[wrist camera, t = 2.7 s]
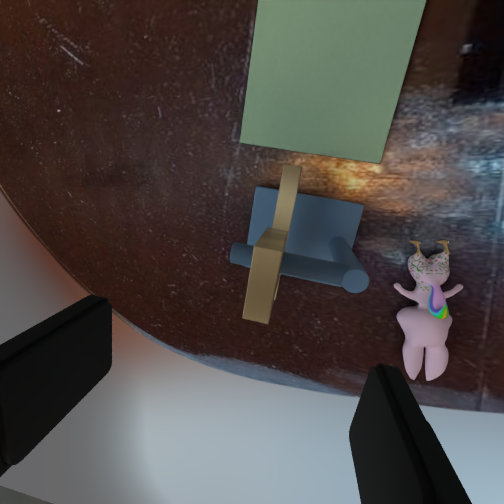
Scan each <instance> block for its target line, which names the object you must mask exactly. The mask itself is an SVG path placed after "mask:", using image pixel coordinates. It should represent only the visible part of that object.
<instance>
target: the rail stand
mask: <svg viewBox="0 0 504 504" xmlns="http://www.w3.org/2000/svg"><path fill="white" fill-rule="evenodd" d="M278 194H279V189H273V188H268V187H262V186H256V190H255V196H254V203H253V209H252V215H251V222H250V228H249V235H248V241H247V244H243V243H238V242H234V244H233V246H232V249H231V253H230V262H231V263H235V264H240V265H244V266H245V267H250V268H251V261H252V255H253V249H254V246H255V244H256V243H257V241H258V240H259V238H260V237H261V236H262V234H263V233H264V231H265V230H266V229H267V227H269V228H272V227H273V221H274V216H275V210H276V205H277V199H278ZM363 208H364V205H363V204H361V203H355V202H349V201H343V200H338V199H332V198H326V197H320V196H314V195H308V194H303V193H297V195H296V200H295V205H294V210H293V215H292V220H291V225H290V230H289V235H288V240H287V245H286V250H285V252H284V253H283V258H282V263H281V268H280V273H281V274H282V275H287V276H292V277H296V278H301V279H306V280H311V281H315V282H320V283H325V284H329V285H334V286H339V287H342V286H343V287H344V289H345V290H347V291H348V292H351V293H359V292H362V291H364V290H365V289H366V288H367V286H368V284H369V277H368V275H367V273H366V272H365V270H364V269H363V267H362V265H361V264H360V262H359V261H358V259H357V258H356V256H355V255H354V253H353V251H352V248H353V244H354V240H355V237H356V233H357V230H358V226H359V223H360V219H361V216H362V212H363Z"/></svg>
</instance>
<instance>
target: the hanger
mask: <svg viewBox="0 0 504 504" xmlns="http://www.w3.org/2000/svg"><path fill="white" fill-rule="evenodd" d="M301 170H302V167H300V166H294V165H287V164H284V166H283V172H282V177H281V183H280V188H279V194H278V199H277V205H276V210H275V216H274V221H273V227H272V228H269V227H267V229H266V230H265V231H264V233H263V234H262V236H261V237H260V238H259V240H258V241H257V243H256V244H255V246H254V249H253V255H252V261H251V268H250V274H249V280H248V286H247V292H246V298H245V304H244V310H243V316H242V317H243V318H244V319H248V320H253V321H257V322H261V323H265V324H268V323H269V319H270V315H271V310H272V306H273V302H274V299H275V298H276V294H277V289H278V284H279V279H280V274H281V273H280V268H281V263H282V258H283V253H284V252H285V250H286V245H287V240H288V235H289V230H290V225H291V220H292V215H293V210H294V205H295V200H296V195H297V190H298V185H299V180H300V175H301Z"/></svg>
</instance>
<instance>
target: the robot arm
mask: <svg viewBox="0 0 504 504" xmlns="http://www.w3.org/2000/svg"><path fill="white" fill-rule="evenodd" d="M111 365H112V305H111V304H110V303H109V301H108V299H106V298H103V297H99V296H95V295H89V296H87V297H85V298H83V299H81V300H80V301H78V302H76V303H74V304H72V305H71V306H69V307H67V308H65V309H64V310H62V311H60V312H58V313H56V314H55V315H53V316H51V317H49V318H48V319H46V320H44V321H43V322H40V323H39V324H37V325H35V326H33V327H31V328H30V329H28V330H26V331H25V332H22V333H21V334H19V335H17V336H15V337H14V338H12V339H10V340H8V341H6V342H5V343H3V344H1V345H0V477H1V476H2V475H3V474H4V473H5V472H6V471H7V470H8V469H9V468H10V467H11V466H12V465H16V464H18V463H19V462H20V461H22V460H23V459H24V458H25V456H27V455H28V454H29V453H30V452H31V451H32V449H34V448H35V446H36V445H38V443H39V442H40V441H41V440H42V439H43V438H44V437H45V436H46V435H47V434H48V433H49V432H50V431H51V430H52V429H53V428H54V427H55V426H56V425H57V424H58V423H59V422H60V421H61V420H62V419H63V418H64V417H65V416H66V415H67V414H68V413H69V412H70V411H71V410H72V409H73V408H74V407H75V406H76V405H77V404H78V403H79V402H80V401H81V400H82V399H83V398H84V396H86V395H87V393H88V392H90V391H91V390H92V388H93V387H94V386H95V385H96V384H97V383H98V382H99V381H100V380H101V379H102V378H103V377H104V376H105V375H106V374H107V373H108V372H109V370H110V368H111ZM349 440H350V446H351V451H352V457H353V461H354V466H355V473H356V477H357V483H358V489H359V494H360V499H361V504H472V503H471V501H470V499H469V497H468V495H467V493H466V491H465V489H464V488H463V486H462V484H461V482H460V480H459V478H458V476H457V475H456V472H455V470H454V469H453V467H452V465H451V463H450V461H449V459H448V458H447V456H446V453H445V451H444V450H443V448H442V446H441V444H440V442H439V440H438V438H437V436H436V434H435V433H434V431H433V429H432V427H431V425H430V424H429V423H428V422H427V421H426V419H425V417H424V415H423V414H422V411H421V409H420V407H419V405H418V403H417V401H416V399H415V397H414V396H413V394H412V392H411V390H410V388H409V386H408V384H407V382H406V380H405V378H404V376H403V374H402V372H401V371H400V369H399V368H397V367H394V366H390V365H385V364H381V363H379V364H378V365H377V366H376V367H374V366H372V367H371V369H370V371H369V374H368V377H367V380H366V383H365V385H364V388H363V391H362V394H361V397H360V400H359V403H358V406H357V409H356V412H355V414H354V417H353V420H352V423H351V426H350V431H349ZM0 504H52V503H49V502H46V501H43V500H41V499H38V498H35V497H32V496H29V495H26V494H23V493H20V492H17V491H14V490H11V489H8V488H5V487H2V486H0Z"/></svg>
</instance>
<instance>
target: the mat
mask: <svg viewBox="0 0 504 504" xmlns="http://www.w3.org/2000/svg"><path fill="white" fill-rule="evenodd" d="M425 3H426V0H258V8H257V15H256V23H255V31H254V38H253V46H252V54H251V61H250V69H249V77H248V84H247V92H246V99H245V107H244V115H243V122H242V130H241V138H240V143H244V144H251V145H257V146H264V147H271V148H277V149H284V150H290V151H297V152H304V153H310V154H317V155H324V156H330V157H337V158H343V159H350V160H357V161H363V162H370V163H376V164H380V161H381V157H382V154H383V150H384V147H385V143H386V140H387V136H388V133H389V129H390V126H391V122H392V119H393V115H394V112H395V108H396V105H397V101H398V98H399V94H400V91H401V87H402V84H403V80H404V77H405V73H406V70H407V66H408V63H409V59H410V56H411V52H412V49H413V45H414V42H415V38H416V35H417V31H418V28H419V24H420V20H421V17H422V13H423V10H424V6H425Z"/></svg>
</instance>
